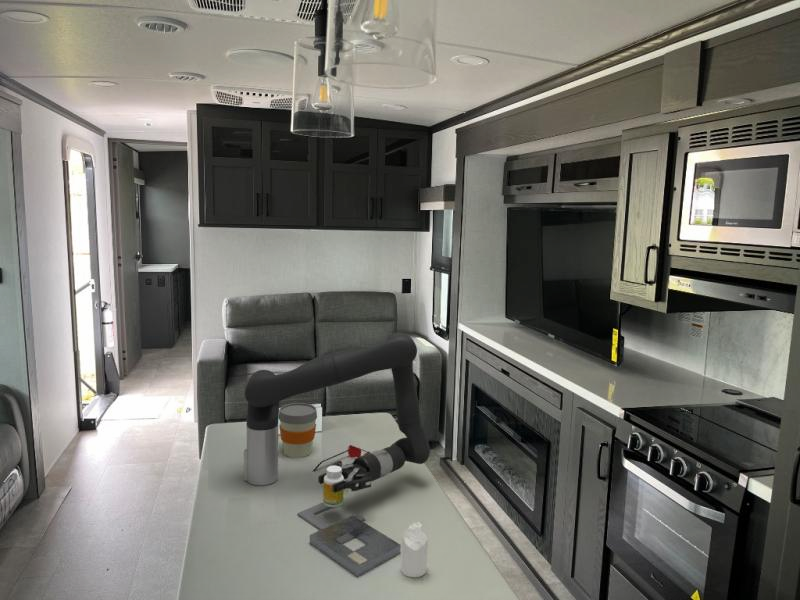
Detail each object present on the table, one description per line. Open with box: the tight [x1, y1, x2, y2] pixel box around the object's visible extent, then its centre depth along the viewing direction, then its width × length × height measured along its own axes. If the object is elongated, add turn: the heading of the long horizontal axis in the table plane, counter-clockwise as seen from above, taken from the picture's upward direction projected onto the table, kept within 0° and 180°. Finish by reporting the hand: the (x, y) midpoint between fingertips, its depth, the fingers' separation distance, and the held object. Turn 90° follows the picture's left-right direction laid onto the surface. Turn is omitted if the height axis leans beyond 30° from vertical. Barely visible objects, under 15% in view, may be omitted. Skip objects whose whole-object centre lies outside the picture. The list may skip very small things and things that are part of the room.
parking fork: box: [296, 502, 366, 531], centre depth 162 cm, size 12×14×1 cm
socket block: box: [309, 515, 402, 578], centre depth 149 cm, size 18×14×2 cm
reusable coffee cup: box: [278, 402, 318, 459], centre depth 201 cm, size 13×13×15 cm
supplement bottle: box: [322, 465, 345, 508], centre depth 161 cm, size 5×5×10 cm
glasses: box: [312, 444, 371, 472], centre depth 190 cm, size 14×16×5 cm
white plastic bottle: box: [400, 521, 429, 578], centre depth 140 cm, size 6×12×6 cm
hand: (326, 484), depth 159 cm, fingers closed on supplement bottle, 5 cm apart
